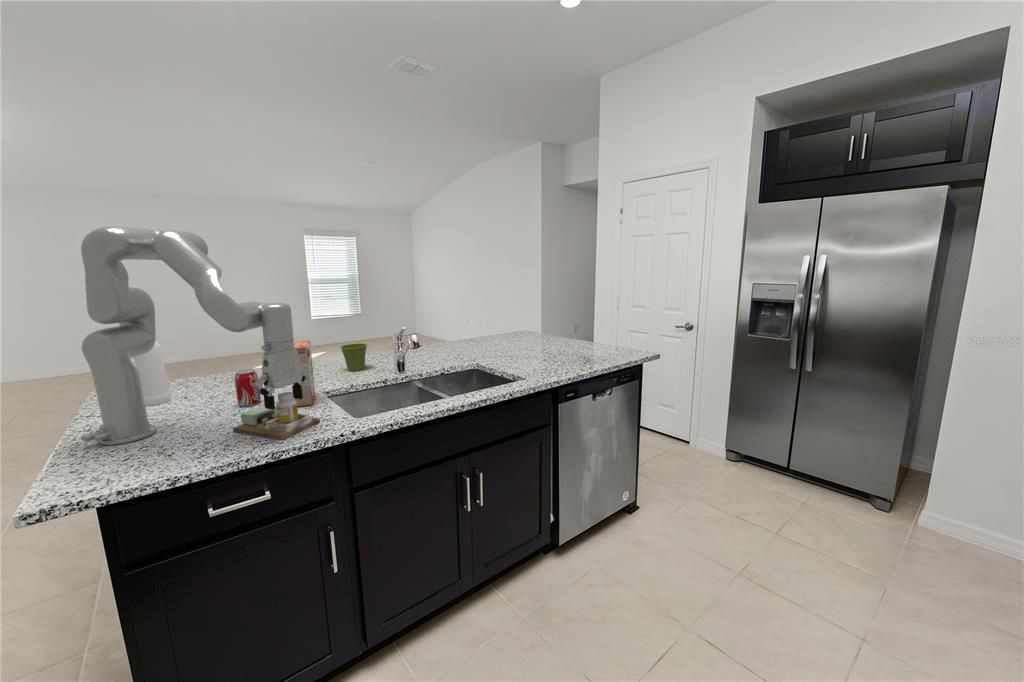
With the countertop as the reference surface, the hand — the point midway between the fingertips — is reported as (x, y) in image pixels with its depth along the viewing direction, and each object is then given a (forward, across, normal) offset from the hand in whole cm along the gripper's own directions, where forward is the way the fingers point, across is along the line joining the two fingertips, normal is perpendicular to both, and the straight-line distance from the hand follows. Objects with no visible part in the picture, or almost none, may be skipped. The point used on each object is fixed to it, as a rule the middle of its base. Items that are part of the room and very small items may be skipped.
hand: (284, 403), depth 125 cm
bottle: (+10, +4, +67) cm, 68 cm away
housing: (+7, 0, +11) cm, 13 cm away
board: (+8, 0, +4) cm, 9 cm away
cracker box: (+8, +23, +16) cm, 29 cm away
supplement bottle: (+7, 0, -1) cm, 7 cm away
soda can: (+9, +13, +32) cm, 36 cm away
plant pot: (+8, +64, +29) cm, 71 cm away
